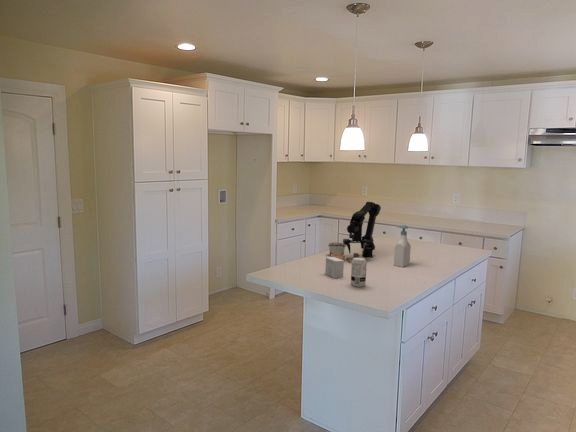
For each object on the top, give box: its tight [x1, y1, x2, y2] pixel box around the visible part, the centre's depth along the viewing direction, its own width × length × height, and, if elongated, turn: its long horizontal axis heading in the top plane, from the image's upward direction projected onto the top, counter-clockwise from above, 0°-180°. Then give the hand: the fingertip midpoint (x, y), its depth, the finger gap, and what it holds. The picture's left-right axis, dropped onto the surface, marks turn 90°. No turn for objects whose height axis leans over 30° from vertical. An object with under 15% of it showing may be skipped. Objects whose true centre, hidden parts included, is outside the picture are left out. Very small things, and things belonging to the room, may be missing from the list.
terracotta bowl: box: [331, 254, 345, 261], centre depth 289 cm, size 9×9×4 cm
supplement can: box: [350, 257, 368, 288], centre depth 236 cm, size 8×8×15 cm
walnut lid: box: [346, 252, 360, 264], centre depth 289 cm, size 11×11×5 cm
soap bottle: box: [393, 224, 412, 268], centre depth 283 cm, size 11×8×27 cm
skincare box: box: [324, 256, 345, 279], centre depth 254 cm, size 10×6×10 cm, turn 30°
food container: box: [328, 242, 347, 257], centre depth 303 cm, size 12×6×10 cm, turn 84°
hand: (356, 253), depth 289 cm, fingers open, 9 cm apart
